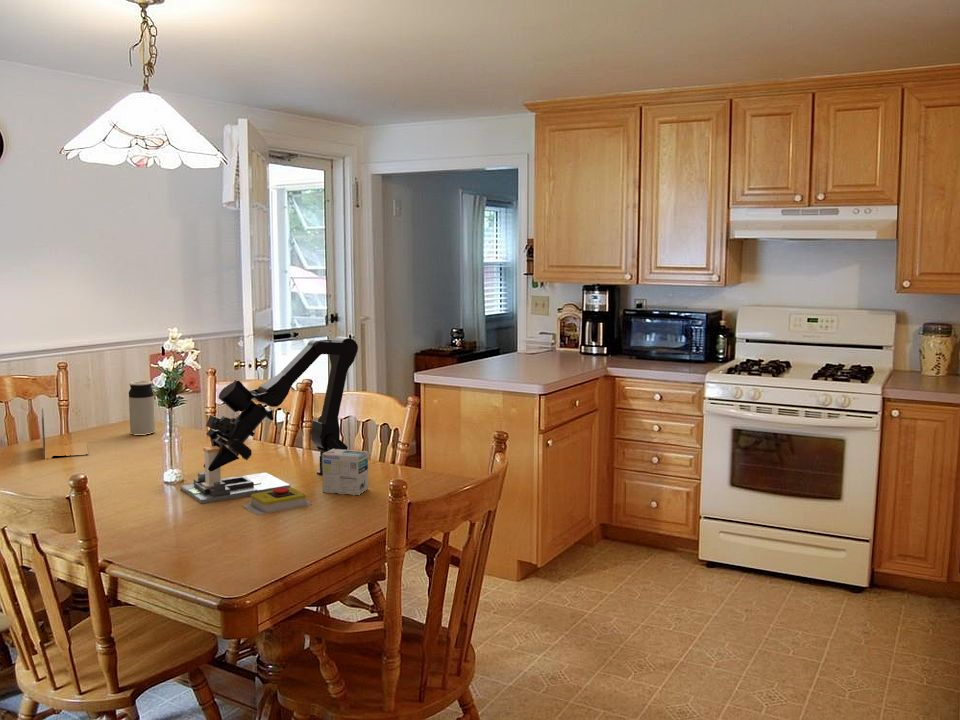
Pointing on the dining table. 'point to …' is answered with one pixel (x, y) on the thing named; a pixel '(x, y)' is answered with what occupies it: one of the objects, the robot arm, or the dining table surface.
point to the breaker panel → (232, 487)
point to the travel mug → (141, 407)
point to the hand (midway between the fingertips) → (207, 469)
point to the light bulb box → (345, 471)
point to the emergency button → (276, 500)
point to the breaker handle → (210, 455)
